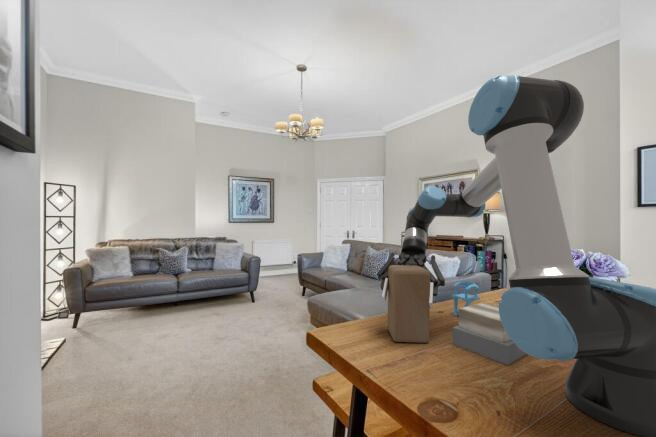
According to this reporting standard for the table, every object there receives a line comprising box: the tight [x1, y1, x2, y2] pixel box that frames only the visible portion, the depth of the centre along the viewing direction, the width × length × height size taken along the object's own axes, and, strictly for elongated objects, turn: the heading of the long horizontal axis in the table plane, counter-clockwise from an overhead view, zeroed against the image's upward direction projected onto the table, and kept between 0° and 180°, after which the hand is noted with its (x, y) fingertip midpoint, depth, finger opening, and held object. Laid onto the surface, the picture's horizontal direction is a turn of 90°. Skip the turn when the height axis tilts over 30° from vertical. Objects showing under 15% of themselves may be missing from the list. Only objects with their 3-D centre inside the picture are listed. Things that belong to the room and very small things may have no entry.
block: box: [387, 264, 431, 344], centre depth 84 cm, size 10×10×20 cm
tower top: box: [457, 302, 511, 343], centre depth 78 cm, size 12×12×5 cm
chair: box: [451, 281, 481, 317], centre depth 104 cm, size 8×8×12 cm
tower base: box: [451, 325, 528, 366], centre depth 78 cm, size 14×14×5 cm
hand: (406, 302), depth 82 cm, fingers closed on block, 12 cm apart
